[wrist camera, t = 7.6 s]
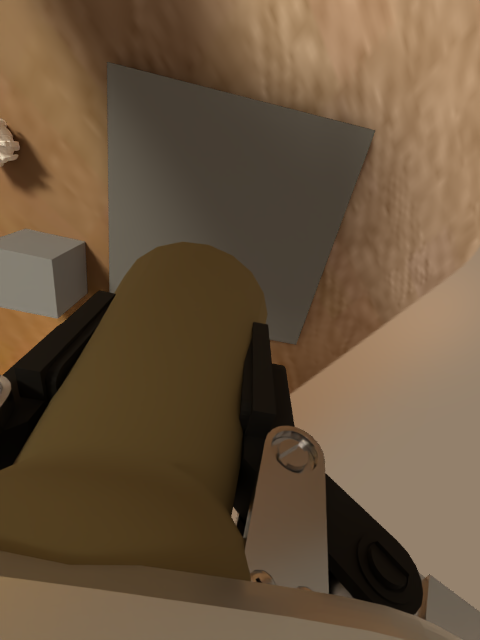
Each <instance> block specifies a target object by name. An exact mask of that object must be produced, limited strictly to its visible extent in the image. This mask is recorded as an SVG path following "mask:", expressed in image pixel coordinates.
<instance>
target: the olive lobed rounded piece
mask: <svg viewBox="0 0 480 640" xmlns="http://www.w3.org/2000/svg"><path fill="white" fill-rule="evenodd" d="M114 294H116V295H115V297H114V298H113V300H112V302H111V303H110V305H109V307H108V309H107V311H106V312H105V314H104V316H103V318H102V319H101V321H100V323H99V325H98V326H97V328H96V330H95V331H94V333H93V335H92V336H91V338H90V339H89V341H88V343H87V344H86V346H85V347H84V349H83V351H82V352H81V354H80V356H79V357H78V359H77V360H76V362H75V364H74V365H73V367H72V368H71V370H70V372H69V373H68V375H67V377H66V378H65V380H64V381H63V383H62V385H61V386H60V388H59V389H58V391H57V393H56V394H55V395H54V396H53V397H52V399H51V401H50V402H49V404H48V406H47V407H46V409H45V411H44V413H43V414H42V416H41V418H40V419H39V421H38V423H37V424H36V426H35V428H34V429H33V431H32V433H31V435H30V436H29V438H28V440H27V441H26V443H25V445H24V446H23V448H22V450H21V451H20V453H19V455H18V456H17V458H16V460H15V462H14V463H13V465H11V466H9V467H7V468H4V469H2V470H0V551H4V552H9V553H14V554H19V555H24V556H28V557H33V558H38V559H43V560H48V561H53V562H58V563H63V564H68V565H141V566H148V567H155V568H162V569H168V570H175V571H182V572H189V573H196V574H203V575H210V576H217V577H224V578H231V579H238V580H245V581H251V578H250V571H249V567H248V563H247V559H246V555H245V540H244V539H243V537H242V535H241V533H240V532H239V530H238V528H237V526H236V525H235V523H234V521H233V519H232V518H231V514H232V509H233V504H234V498H235V493H236V487H237V482H238V476H239V470H240V465H241V457H242V446H243V436H244V434H243V431H242V427H241V424H240V420H239V415H240V404H241V392H242V381H243V369H244V360H245V357H246V354H247V351H248V348H249V345H250V342H251V339H252V328H253V322H258V323H263V324H266V320H267V309H266V303H265V298H264V293H263V291H262V289H261V287H260V286H259V284H258V282H257V280H256V279H255V277H254V275H253V274H252V272H251V271H250V270H248V269H247V268H246V267H245V266H244V265H243V264H242V263H241V262H240V261H238V260H237V259H236V258H235V257H234V256H233V255H230V254H228V253H226V252H224V251H221V250H219V249H217V248H215V247H213V246H210V245H206V244H198V243H190V242H178V243H173V244H168V245H163V246H159V247H156V248H155V249H153V250H151V251H150V252H148V253H146V254H145V255H143V256H141V257H140V258H138V259H137V260H136V261H135V263H134V264H133V265H132V267H131V268H130V269H129V271H128V272H127V273H126V275H125V276H124V277H123V279H122V281H121V283H120V284H119V286H118V288H117V289H116V291H115V293H114Z"/></svg>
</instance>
